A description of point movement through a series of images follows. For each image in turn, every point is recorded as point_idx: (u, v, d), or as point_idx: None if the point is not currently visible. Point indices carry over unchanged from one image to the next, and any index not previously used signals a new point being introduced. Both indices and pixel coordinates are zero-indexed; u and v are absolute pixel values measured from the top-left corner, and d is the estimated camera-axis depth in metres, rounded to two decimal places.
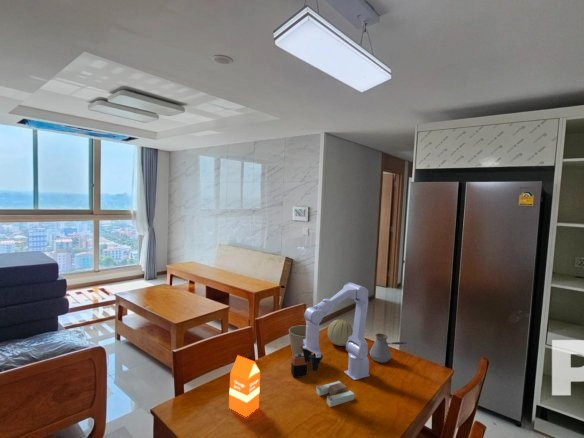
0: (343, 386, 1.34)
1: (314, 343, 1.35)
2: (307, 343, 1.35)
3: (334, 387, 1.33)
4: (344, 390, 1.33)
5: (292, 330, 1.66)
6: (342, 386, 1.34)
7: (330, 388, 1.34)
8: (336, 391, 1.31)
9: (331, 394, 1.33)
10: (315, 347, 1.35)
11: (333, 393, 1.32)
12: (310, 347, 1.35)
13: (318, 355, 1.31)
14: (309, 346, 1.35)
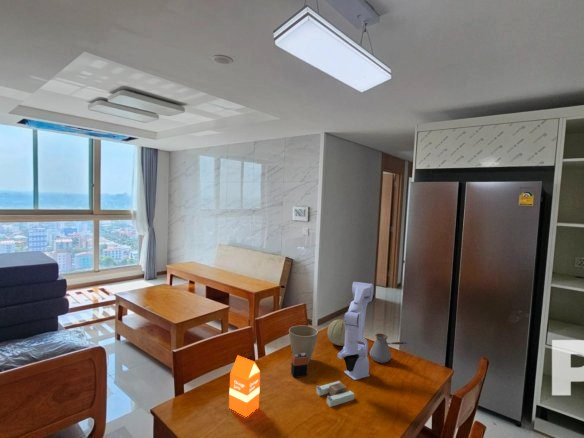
0: (343, 386, 1.34)
1: (346, 345, 1.35)
2: None
3: (334, 387, 1.33)
4: (344, 390, 1.33)
5: (292, 330, 1.66)
6: (342, 386, 1.34)
7: (330, 388, 1.34)
8: (337, 391, 1.31)
9: (331, 394, 1.33)
10: (347, 350, 1.34)
11: (333, 393, 1.32)
12: (344, 348, 1.36)
13: (339, 356, 1.32)
14: (344, 347, 1.37)
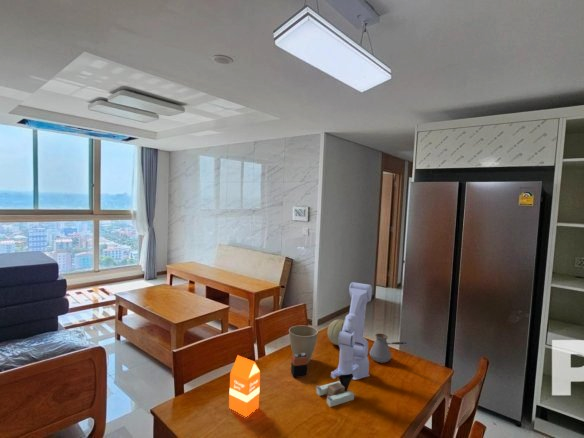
0: (341, 386, 1.34)
1: (340, 364, 1.34)
2: None
3: (332, 387, 1.33)
4: (342, 390, 1.33)
5: (292, 330, 1.66)
6: (340, 386, 1.34)
7: (328, 388, 1.33)
8: (335, 391, 1.31)
9: (329, 394, 1.32)
10: (341, 370, 1.33)
11: (331, 393, 1.31)
12: (338, 367, 1.35)
13: (332, 375, 1.31)
14: (339, 366, 1.36)
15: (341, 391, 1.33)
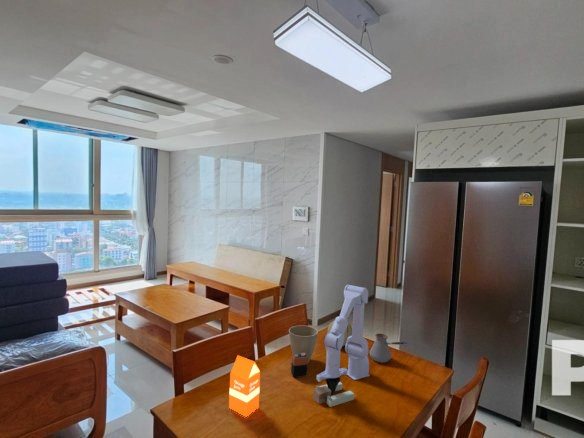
0: (328, 389, 1.31)
1: (326, 367, 1.31)
2: None
3: (318, 390, 1.30)
4: (329, 394, 1.30)
5: (292, 330, 1.66)
6: (327, 390, 1.30)
7: (314, 391, 1.30)
8: (320, 394, 1.28)
9: (315, 398, 1.30)
10: (327, 373, 1.30)
11: (317, 397, 1.28)
12: (325, 370, 1.32)
13: (317, 378, 1.29)
14: (325, 369, 1.33)
15: (327, 395, 1.29)
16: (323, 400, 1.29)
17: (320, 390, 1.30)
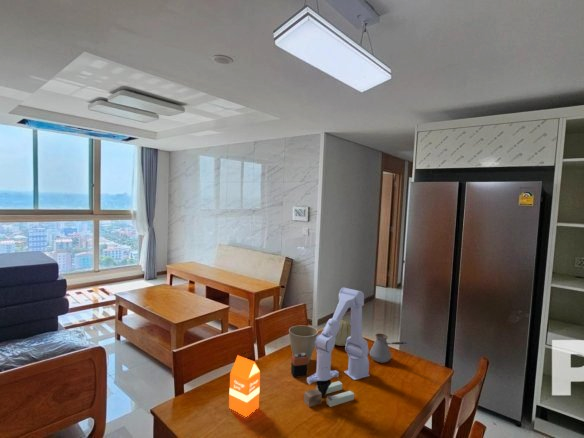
0: (318, 392, 1.28)
1: (317, 370, 1.29)
2: None
3: (309, 393, 1.27)
4: (319, 396, 1.28)
5: (292, 330, 1.66)
6: (317, 393, 1.28)
7: (305, 394, 1.28)
8: (311, 397, 1.26)
9: (305, 401, 1.27)
10: (318, 375, 1.28)
11: (307, 400, 1.26)
12: (316, 372, 1.30)
13: (307, 381, 1.27)
14: None
15: (318, 398, 1.27)
16: (313, 403, 1.26)
17: (310, 393, 1.28)
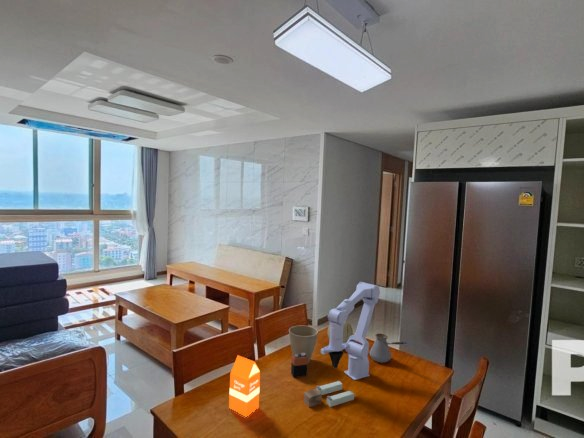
0: (318, 393, 1.29)
1: (330, 342, 1.38)
2: None
3: (309, 394, 1.27)
4: (319, 397, 1.28)
5: (292, 330, 1.66)
6: (317, 393, 1.28)
7: (304, 395, 1.28)
8: (311, 398, 1.26)
9: (305, 401, 1.27)
10: (331, 347, 1.37)
11: (307, 400, 1.26)
12: (329, 344, 1.40)
13: (322, 351, 1.36)
14: None
15: (318, 398, 1.27)
16: (313, 403, 1.26)
17: (310, 393, 1.28)
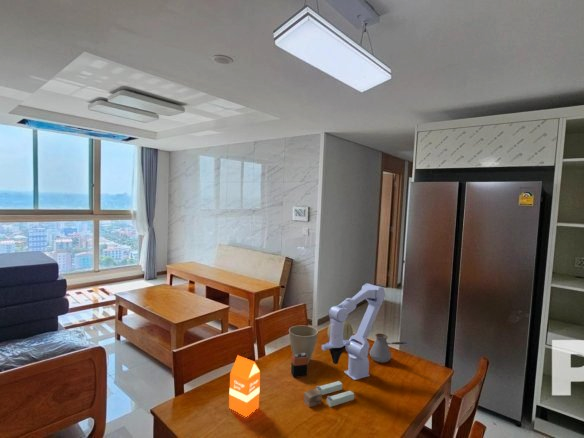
0: (318, 393, 1.29)
1: (331, 338, 1.41)
2: None
3: (309, 394, 1.27)
4: (319, 397, 1.28)
5: (292, 330, 1.66)
6: (317, 393, 1.28)
7: (305, 395, 1.28)
8: (311, 398, 1.26)
9: (305, 401, 1.27)
10: (331, 343, 1.41)
11: (307, 400, 1.26)
12: None
13: (322, 348, 1.39)
14: None
15: (318, 398, 1.27)
16: (313, 403, 1.26)
17: (310, 393, 1.28)
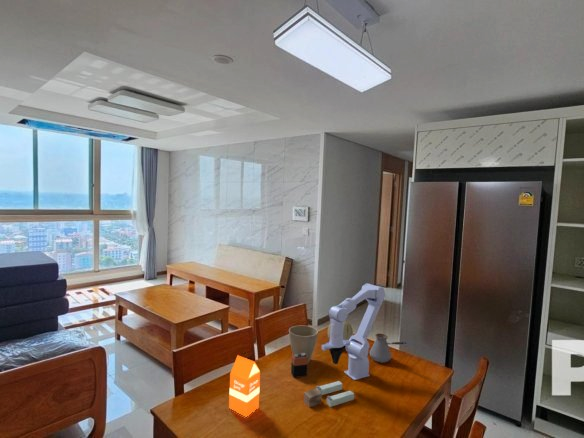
0: (318, 392, 1.29)
1: (331, 338, 1.41)
2: None
3: (309, 394, 1.27)
4: (319, 397, 1.28)
5: (292, 330, 1.66)
6: (317, 393, 1.28)
7: (305, 395, 1.28)
8: (311, 398, 1.26)
9: (306, 401, 1.27)
10: (331, 343, 1.41)
11: (307, 400, 1.26)
12: None
13: (322, 348, 1.39)
14: None
15: (318, 398, 1.27)
16: (313, 403, 1.26)
17: (310, 393, 1.28)
